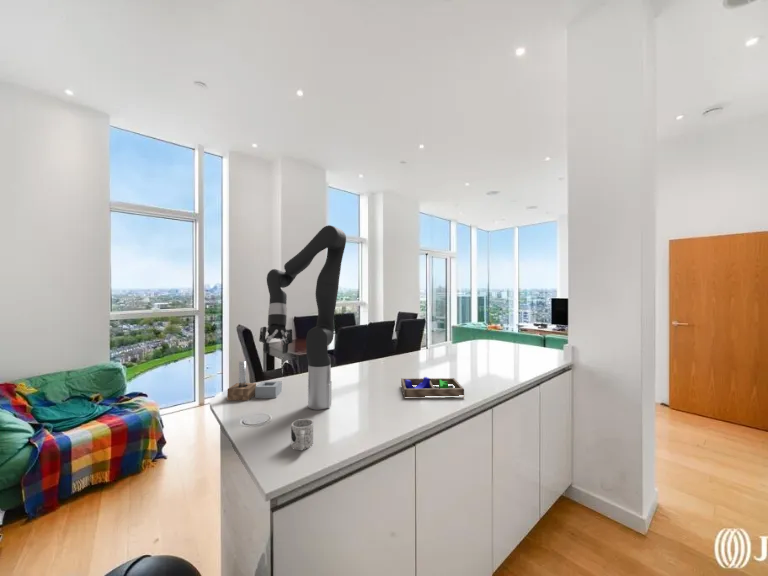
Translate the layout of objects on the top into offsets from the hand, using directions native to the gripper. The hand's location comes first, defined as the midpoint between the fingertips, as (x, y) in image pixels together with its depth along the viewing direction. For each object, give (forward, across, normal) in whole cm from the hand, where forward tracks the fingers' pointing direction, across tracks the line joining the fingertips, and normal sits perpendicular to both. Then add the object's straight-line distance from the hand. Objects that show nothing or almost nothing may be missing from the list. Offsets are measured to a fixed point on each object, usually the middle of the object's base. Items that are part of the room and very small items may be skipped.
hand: (275, 353), depth 130 cm
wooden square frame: (+17, +1, +26) cm, 32 cm away
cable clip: (+19, +57, -31) cm, 68 cm away
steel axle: (+17, +1, +26) cm, 32 cm away
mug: (+32, -10, -31) cm, 46 cm away
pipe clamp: (+20, +66, -41) cm, 80 cm away
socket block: (+17, +10, +20) cm, 28 cm away
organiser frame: (+20, +61, -36) cm, 74 cm away
